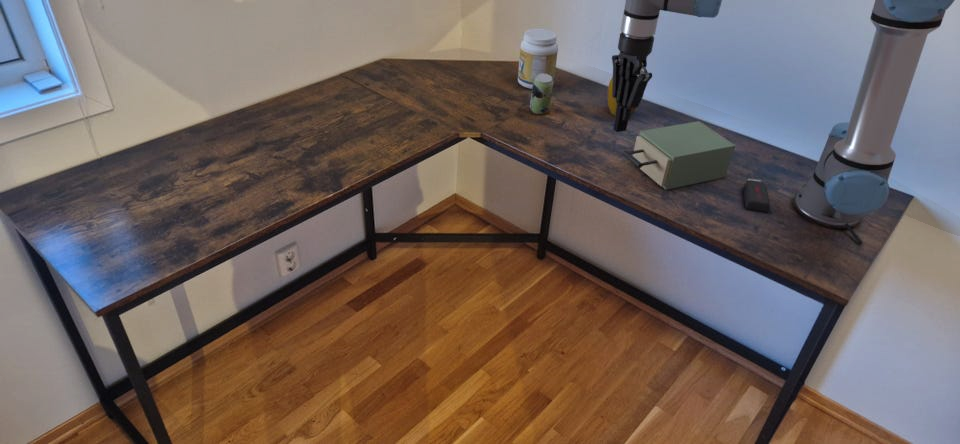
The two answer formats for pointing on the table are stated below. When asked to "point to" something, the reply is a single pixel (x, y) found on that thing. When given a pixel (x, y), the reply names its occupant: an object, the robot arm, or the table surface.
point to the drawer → (650, 160)
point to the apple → (613, 99)
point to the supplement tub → (537, 55)
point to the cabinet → (692, 153)
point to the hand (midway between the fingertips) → (619, 129)
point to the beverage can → (541, 93)
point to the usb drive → (756, 195)
